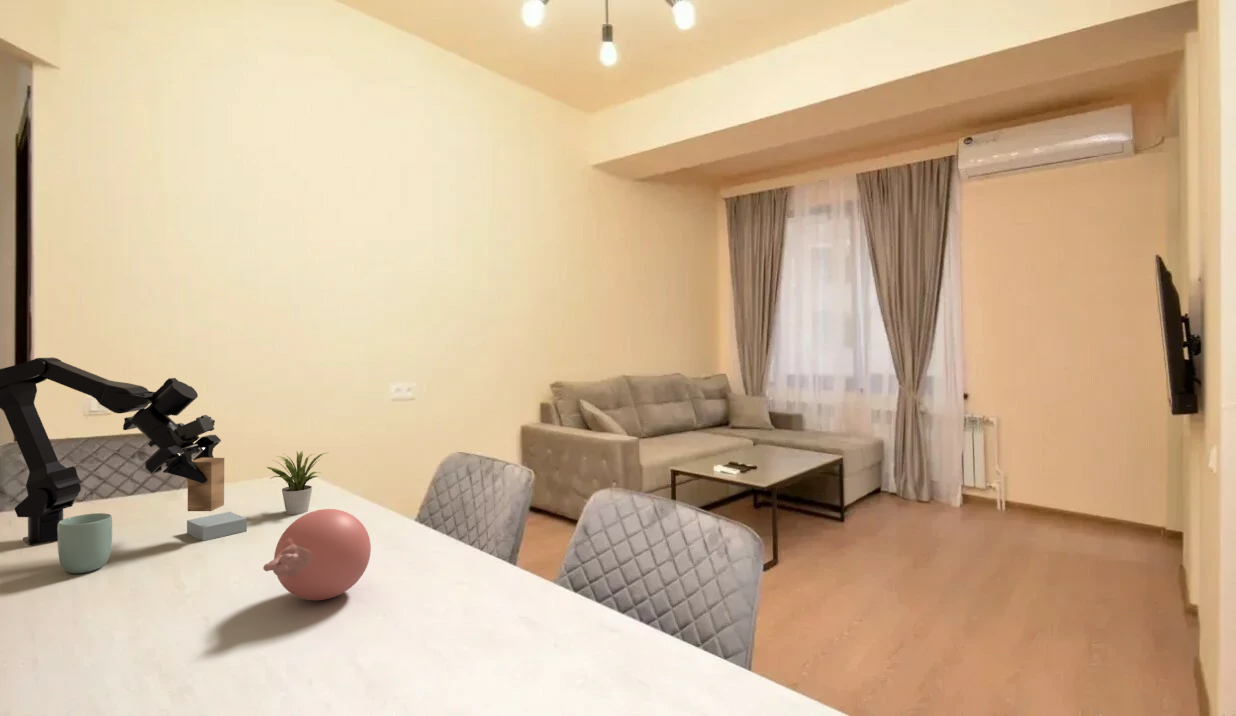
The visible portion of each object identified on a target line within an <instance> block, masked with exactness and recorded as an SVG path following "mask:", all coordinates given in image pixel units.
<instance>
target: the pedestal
mask: <svg viewBox="0 0 1236 716" xmlns="http://www.w3.org/2000/svg"><path fill="white" fill-rule="evenodd" d="M247 523H248V518H247V517H244V516H241V515H240V514H236V513H234V512H232V511H227V512H222V513H217V514H213V515H206V516H201V517H197V518H192V519H187V520H186V533H187V534H188V535H190V536H192V537H194V538H196V539H199V540H201V541H203V542H205V541H210V540H213V539H218V538H222V537H227V536H231V535H235V534H239V533H244V532H247V530H248V525H247Z"/></svg>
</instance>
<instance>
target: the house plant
mask: <svg viewBox="0 0 1236 716" xmlns="http://www.w3.org/2000/svg"><path fill="white" fill-rule="evenodd" d="M329 453H330V452H323V453H320V454H319V455H316V457H314V458H313V460H312V461H310V463H309V465H308V461H309V458H310V457H311V456H312V455H314V453H312V454H310V455H308V456H307V457H306V458H305V460H304V462H303V464H302V461H303V456H304V451H303V450H302V451H300V452H298V451H296V465H295V463H294V461H293V460H292V458H290V457H289V456H288V455H287V454H286V453H283V455H285V456H286V457H287V458H286V457H283V456H280V455H277V457H278V458H280V459H279V460H281V461H282V460H283V462H284V464H285V466H284V465H282V464H281V463H280V462H279V461H277V460H274V459H272V461H273V462H275V463H277V464H279V465H280V466H282V468H283V469H285V471H286V472H287V473H288V474H289V475H288V474H287V473H286V472H284V471H282V470H280V469H278V468H275V467H272V466H266V468H267V469H268V470H271V471H272V472H273V473H274V474H276V475H274V476H272V477H270V479H269V480H271V479H272V478H273V479H274V478H278V477H279V478H281V479H282V480H284V481H285V484H287V485H288V486H286V487H283V488H282V489H281V492H282V497H283V504H284V509H285V510H284V511H285V514H287V515H300V513H302V514H305V513H307V512H309V507H310V502H311V496H312V492H313V491H312V490H313V486H312V485H308V484H307V483H308V482H309V481H310V480H312V479H314V478H317V477H318V478H320V476H318V475H315V474H318V473H319V474H321V472H319V471H312V472H310V470H311V469H312V468H313V467H314V466H315V464H316V463H317V462H318V461H320V459H321V458H320V457H321V456H323V455H325V454H329ZM307 465H308V466H307ZM309 472H310V473H309ZM304 512H305V513H304Z"/></svg>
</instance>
